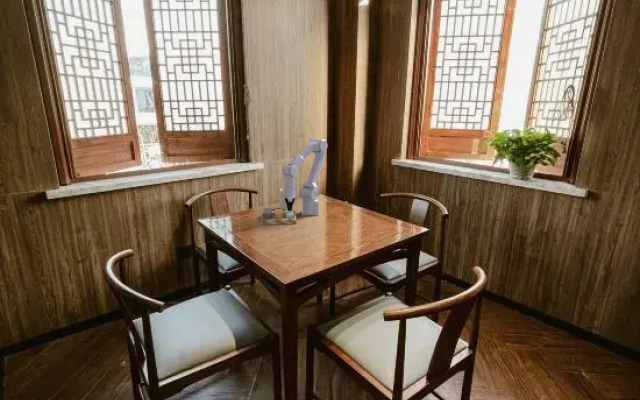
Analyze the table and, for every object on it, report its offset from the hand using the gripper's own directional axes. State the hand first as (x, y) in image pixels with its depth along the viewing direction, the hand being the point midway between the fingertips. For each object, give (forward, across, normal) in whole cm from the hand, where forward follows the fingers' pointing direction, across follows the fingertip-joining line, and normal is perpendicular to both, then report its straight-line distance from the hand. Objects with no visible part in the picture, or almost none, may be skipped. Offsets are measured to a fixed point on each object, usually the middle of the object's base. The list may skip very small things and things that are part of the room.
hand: (289, 210), depth 194 cm
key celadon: (+5, 0, 0) cm, 5 cm away
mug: (+5, -20, -1) cm, 21 cm away
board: (+5, 0, -6) cm, 8 cm away
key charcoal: (+4, 0, -12) cm, 13 cm away
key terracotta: (+5, 0, -6) cm, 8 cm away
